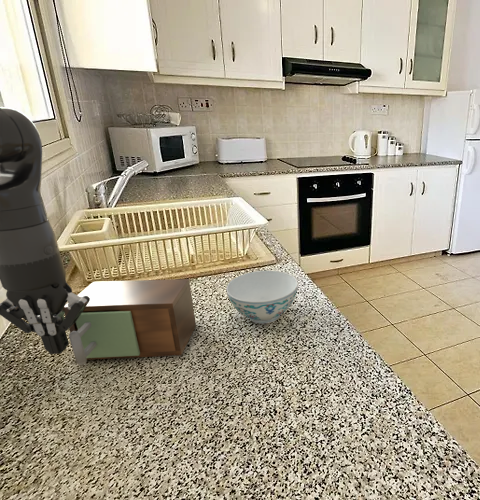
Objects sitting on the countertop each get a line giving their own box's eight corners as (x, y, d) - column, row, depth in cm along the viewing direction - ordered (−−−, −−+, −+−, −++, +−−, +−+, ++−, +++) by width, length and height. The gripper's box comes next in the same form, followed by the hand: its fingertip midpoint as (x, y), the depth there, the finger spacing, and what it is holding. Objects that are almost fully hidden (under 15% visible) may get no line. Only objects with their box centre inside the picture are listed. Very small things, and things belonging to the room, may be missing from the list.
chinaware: (218, 313, 84) (214, 282, 81) (276, 293, 93) (274, 265, 90) (250, 343, 73) (247, 309, 70) (312, 317, 82) (311, 286, 80)
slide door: (70, 376, 62) (55, 330, 59) (87, 356, 67) (75, 312, 64) (127, 373, 63) (116, 327, 60) (140, 353, 68) (130, 310, 65)
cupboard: (78, 360, 68) (62, 307, 64) (105, 329, 77) (93, 281, 73) (181, 355, 69) (172, 303, 66) (196, 325, 79) (189, 278, 75)
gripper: (88, 243, 59) (112, 336, 65) (-3, 245, 57) (30, 339, 64) (59, 261, 52) (89, 363, 58) (-46, 264, 51) (-4, 368, 57)
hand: (58, 351), depth 61 cm, fingers closed
